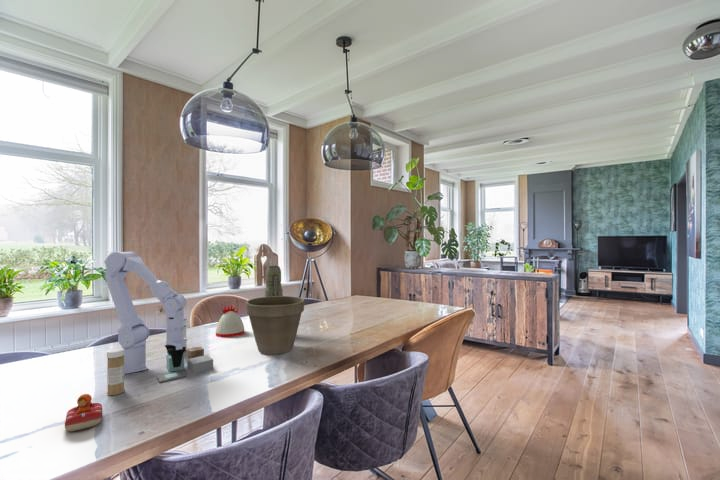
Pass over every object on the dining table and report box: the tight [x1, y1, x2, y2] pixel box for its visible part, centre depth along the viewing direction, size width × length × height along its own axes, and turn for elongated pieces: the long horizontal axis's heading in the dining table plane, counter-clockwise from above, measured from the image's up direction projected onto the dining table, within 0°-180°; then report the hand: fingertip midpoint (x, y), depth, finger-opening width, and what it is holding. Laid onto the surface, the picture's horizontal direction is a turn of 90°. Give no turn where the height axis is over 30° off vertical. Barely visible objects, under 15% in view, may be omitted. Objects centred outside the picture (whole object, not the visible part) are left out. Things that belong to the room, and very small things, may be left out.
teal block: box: [165, 354, 185, 373], centre depth 131 cm, size 5×5×5 cm
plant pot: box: [245, 295, 305, 356], centre depth 153 cm, size 25×25×22 cm
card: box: [156, 370, 187, 384], centre depth 122 cm, size 8×6×1 cm
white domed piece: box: [215, 304, 245, 338], centre depth 182 cm, size 14×14×15 cm
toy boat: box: [64, 393, 103, 432], centre depth 91 cm, size 8×12×8 cm, turn 37°
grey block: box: [186, 354, 214, 375], centre depth 130 cm, size 7×7×4 cm
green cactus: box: [264, 265, 284, 297], centre depth 178 cm, size 9×12×35 cm
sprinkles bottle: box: [106, 347, 125, 396], centre depth 110 cm, size 5×5×14 cm
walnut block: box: [186, 346, 205, 360], centre depth 139 cm, size 5×5×5 cm
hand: (175, 364), depth 131 cm, fingers closed on teal block, 5 cm apart
